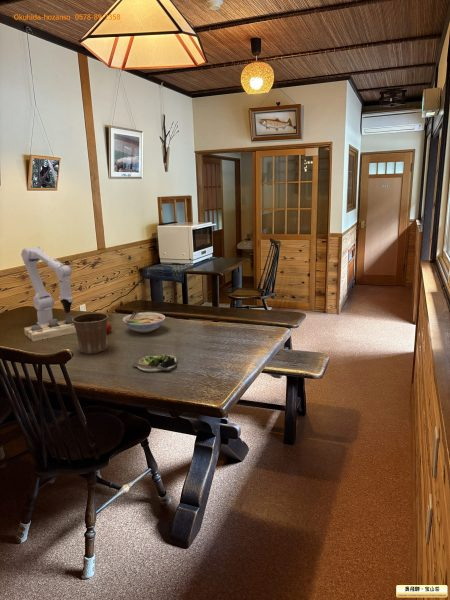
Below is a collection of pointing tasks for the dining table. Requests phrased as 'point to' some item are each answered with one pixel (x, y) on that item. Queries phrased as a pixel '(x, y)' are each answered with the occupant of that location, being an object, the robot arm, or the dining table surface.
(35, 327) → the button
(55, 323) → the button
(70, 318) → the button
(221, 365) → the dining table surface
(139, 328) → the ramen bowl
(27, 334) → the button board
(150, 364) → the salad plate
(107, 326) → the kendama
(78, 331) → the plant pot
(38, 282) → the robot arm
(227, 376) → the dining table surface
